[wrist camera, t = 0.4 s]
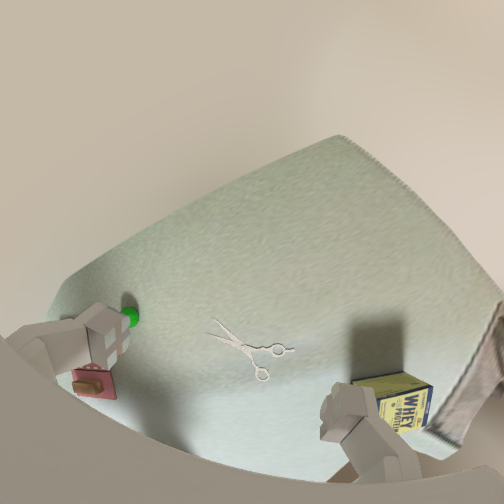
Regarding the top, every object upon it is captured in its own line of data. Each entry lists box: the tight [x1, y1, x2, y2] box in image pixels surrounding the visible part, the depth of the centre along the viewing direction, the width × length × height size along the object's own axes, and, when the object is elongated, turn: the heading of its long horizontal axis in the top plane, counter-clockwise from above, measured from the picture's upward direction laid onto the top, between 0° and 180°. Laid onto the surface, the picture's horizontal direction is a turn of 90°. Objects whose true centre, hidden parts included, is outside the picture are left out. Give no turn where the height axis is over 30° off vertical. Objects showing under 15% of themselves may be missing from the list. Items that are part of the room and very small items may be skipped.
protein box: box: [351, 371, 433, 434], centre depth 50 cm, size 10×16×16 cm
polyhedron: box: [121, 307, 139, 328], centre depth 59 cm, size 5×5×5 cm
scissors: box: [207, 320, 294, 381], centre depth 60 cm, size 11×1×20 cm
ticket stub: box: [71, 369, 117, 400], centre depth 56 cm, size 8×14×6 cm, turn 98°
